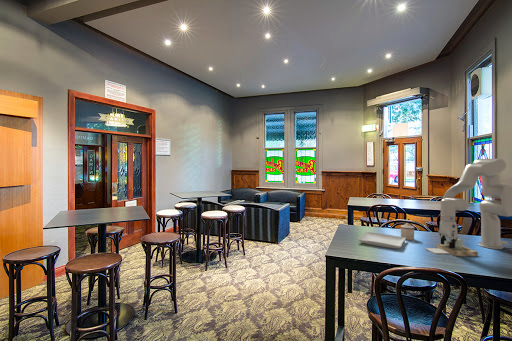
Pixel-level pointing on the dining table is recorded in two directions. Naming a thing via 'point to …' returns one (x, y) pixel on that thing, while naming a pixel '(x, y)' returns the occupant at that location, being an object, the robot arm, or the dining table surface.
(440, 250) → the pad
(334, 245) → the dining table surface
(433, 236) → the dining table surface
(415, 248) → the dining table surface
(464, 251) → the stand
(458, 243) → the jug
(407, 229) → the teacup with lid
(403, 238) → the square plate
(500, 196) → the robot arm
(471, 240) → the dining table surface
